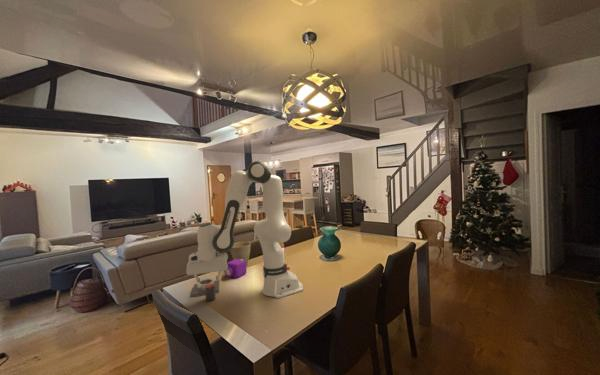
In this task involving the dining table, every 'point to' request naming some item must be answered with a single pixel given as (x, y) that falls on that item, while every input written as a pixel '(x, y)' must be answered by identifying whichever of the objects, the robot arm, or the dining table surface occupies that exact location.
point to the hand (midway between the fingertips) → (208, 280)
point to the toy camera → (236, 268)
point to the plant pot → (241, 251)
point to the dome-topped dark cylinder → (210, 292)
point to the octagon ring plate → (200, 287)
